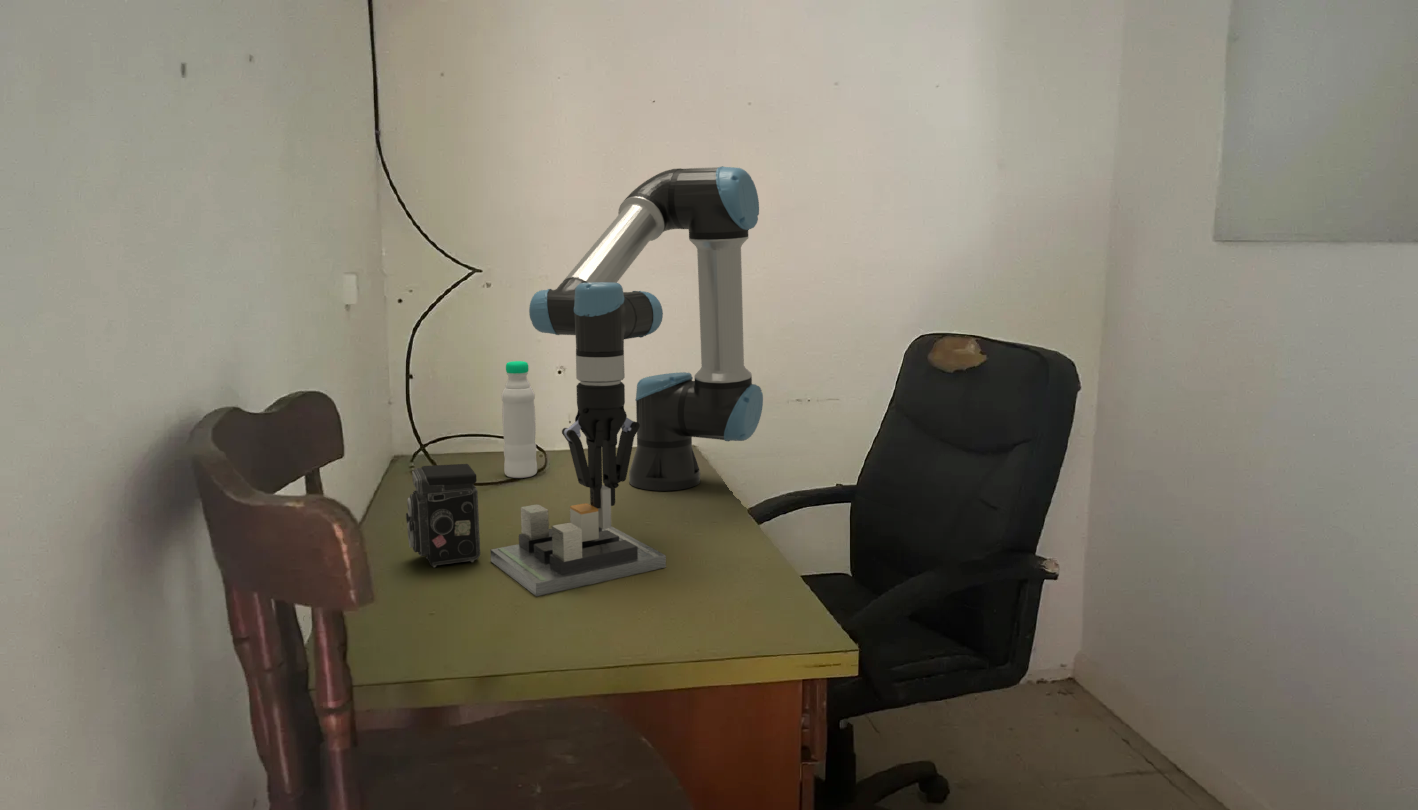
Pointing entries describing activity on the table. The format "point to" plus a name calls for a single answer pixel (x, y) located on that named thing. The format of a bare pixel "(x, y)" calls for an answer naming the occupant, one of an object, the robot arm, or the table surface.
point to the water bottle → (519, 422)
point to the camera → (444, 514)
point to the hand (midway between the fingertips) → (603, 526)
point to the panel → (573, 577)
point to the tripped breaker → (585, 520)
